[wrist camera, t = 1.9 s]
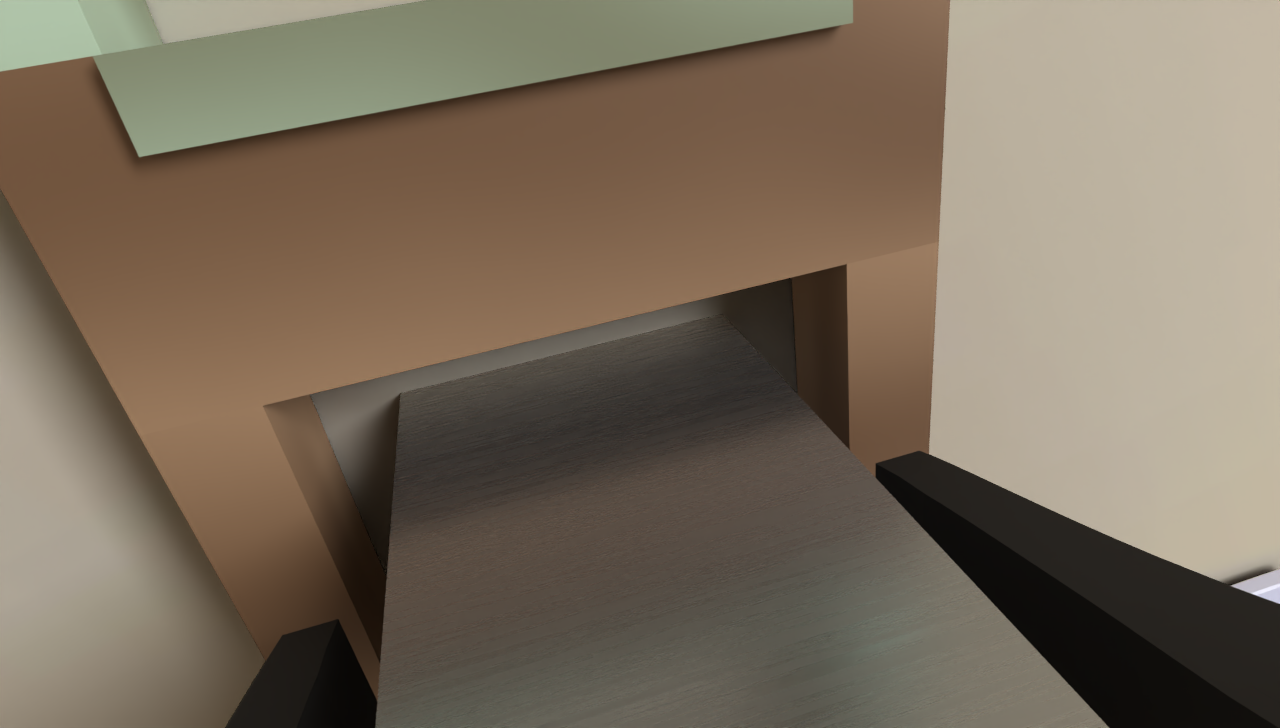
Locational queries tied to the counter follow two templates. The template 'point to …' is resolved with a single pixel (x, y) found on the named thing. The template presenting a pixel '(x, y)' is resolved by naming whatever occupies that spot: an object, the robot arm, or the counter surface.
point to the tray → (459, 223)
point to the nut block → (674, 561)
